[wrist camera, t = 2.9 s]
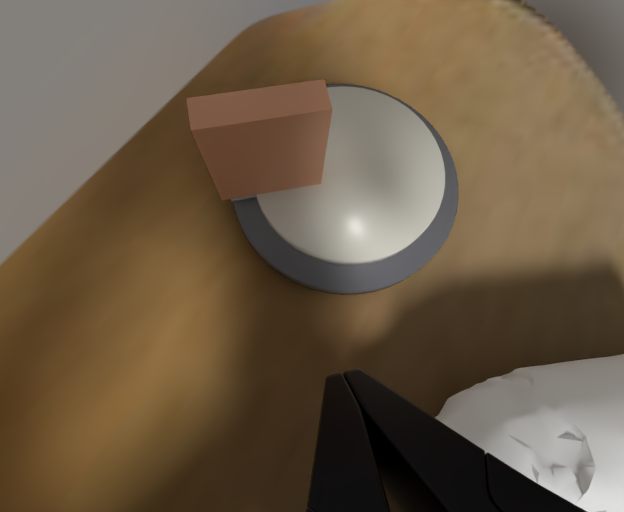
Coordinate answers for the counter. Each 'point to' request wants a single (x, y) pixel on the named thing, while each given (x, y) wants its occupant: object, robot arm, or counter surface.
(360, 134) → the dial
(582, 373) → the white bottle
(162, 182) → the counter surface
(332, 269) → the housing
